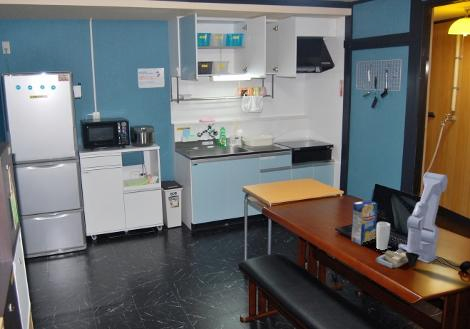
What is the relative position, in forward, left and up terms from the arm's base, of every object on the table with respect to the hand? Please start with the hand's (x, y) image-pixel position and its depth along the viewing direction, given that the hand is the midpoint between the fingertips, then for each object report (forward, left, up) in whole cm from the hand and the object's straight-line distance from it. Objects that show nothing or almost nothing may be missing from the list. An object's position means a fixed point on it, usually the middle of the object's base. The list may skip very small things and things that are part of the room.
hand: (411, 266), depth 216 cm
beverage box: (-9, -35, -1) cm, 36 cm away
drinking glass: (-6, -21, -1) cm, 22 cm away
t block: (0, -9, -1) cm, 9 cm away
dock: (0, -11, -1) cm, 11 cm away
